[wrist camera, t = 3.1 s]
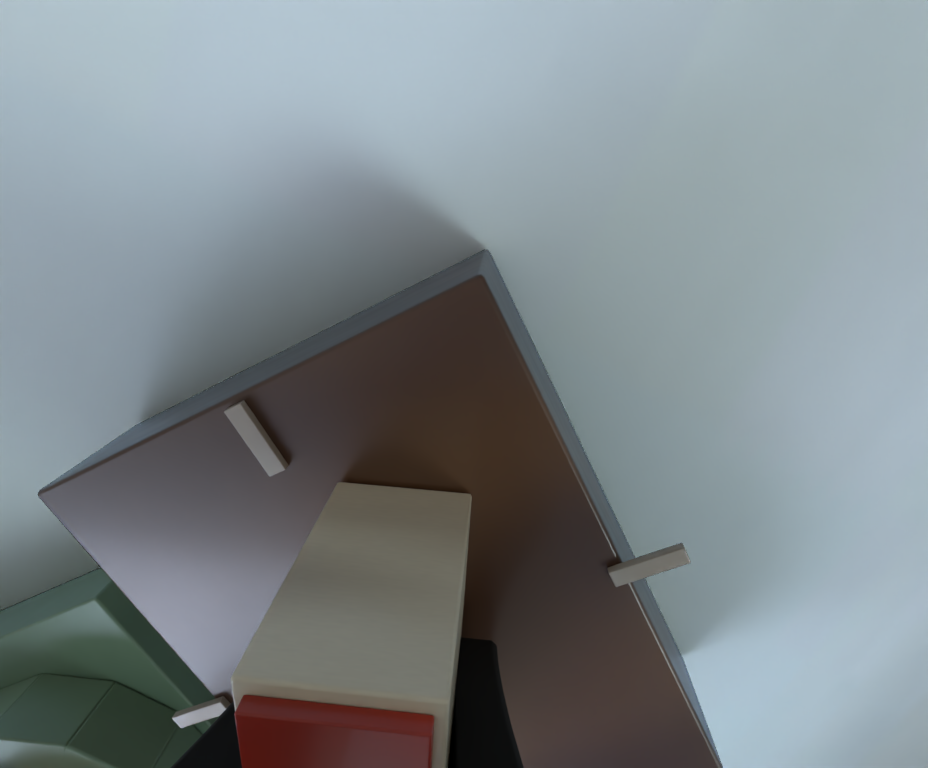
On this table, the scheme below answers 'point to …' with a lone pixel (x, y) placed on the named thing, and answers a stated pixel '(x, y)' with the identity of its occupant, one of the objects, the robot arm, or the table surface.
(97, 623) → the button box
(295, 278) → the table surface
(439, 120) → the table surface
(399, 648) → the cream rectangular block
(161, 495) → the switch base
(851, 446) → the table surface
